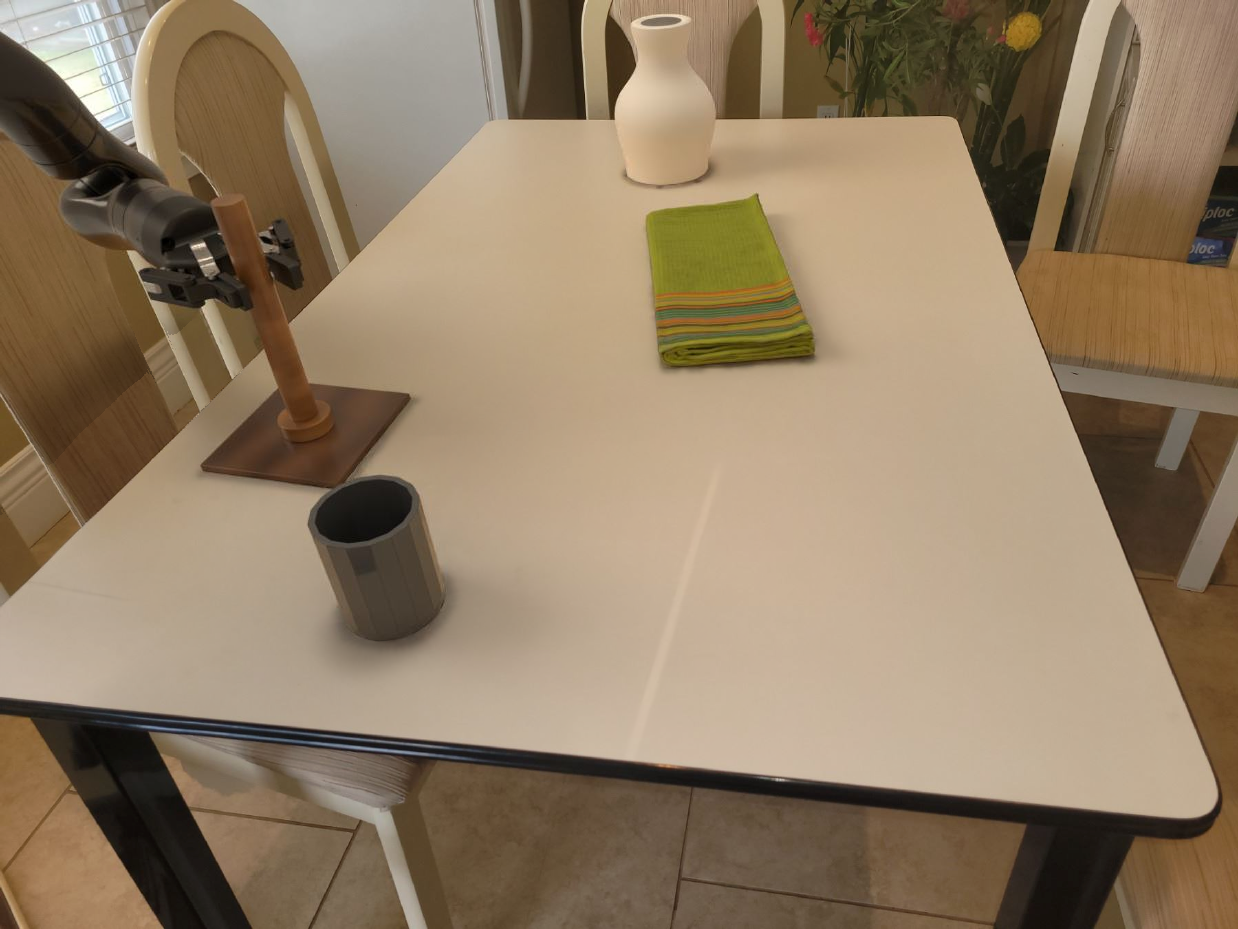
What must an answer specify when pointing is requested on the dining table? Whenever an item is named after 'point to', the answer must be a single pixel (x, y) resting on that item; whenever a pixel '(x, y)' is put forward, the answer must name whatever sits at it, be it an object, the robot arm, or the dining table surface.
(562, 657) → the dining table surface
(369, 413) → the board
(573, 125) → the dining table surface
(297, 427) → the cylinder
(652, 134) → the vase
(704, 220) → the dish towel
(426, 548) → the holder
